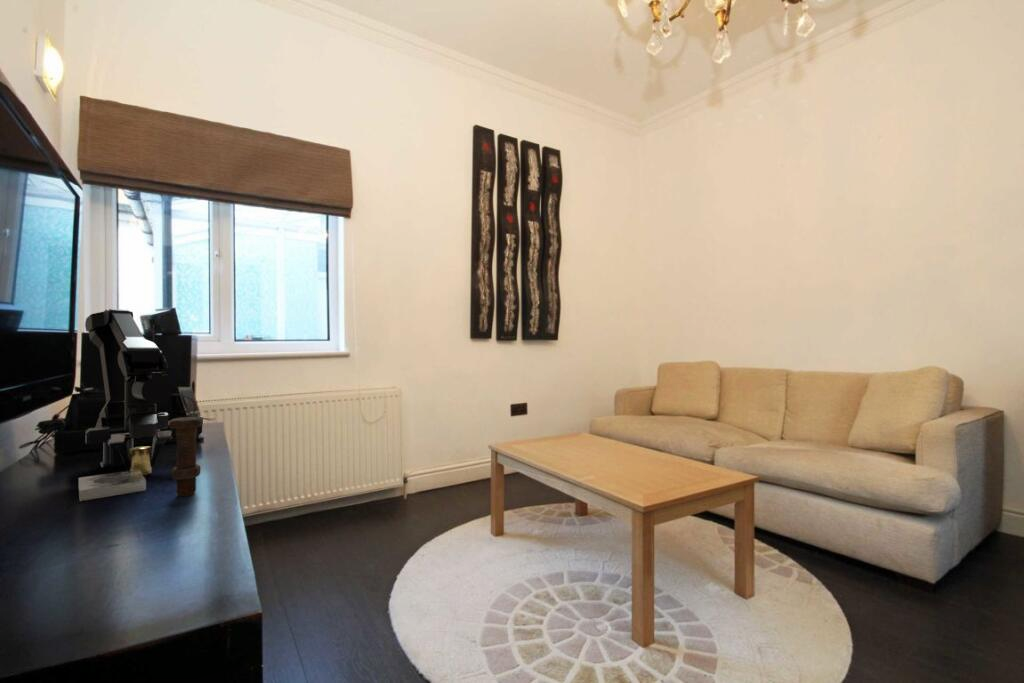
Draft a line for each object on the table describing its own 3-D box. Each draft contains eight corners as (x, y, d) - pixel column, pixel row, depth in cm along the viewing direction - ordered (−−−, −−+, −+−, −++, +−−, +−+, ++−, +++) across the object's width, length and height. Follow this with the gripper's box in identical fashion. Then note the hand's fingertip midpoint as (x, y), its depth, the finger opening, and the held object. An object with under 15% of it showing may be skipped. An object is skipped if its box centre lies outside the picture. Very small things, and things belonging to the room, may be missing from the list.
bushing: (128, 474, 109) (128, 448, 109) (150, 471, 112) (150, 445, 112) (130, 477, 106) (130, 450, 106) (152, 474, 109) (152, 448, 109)
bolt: (209, 491, 96) (209, 416, 96) (190, 499, 91) (190, 420, 91) (182, 490, 97) (183, 416, 97) (162, 498, 92) (162, 420, 92)
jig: (78, 487, 99) (78, 477, 99) (139, 478, 106) (139, 469, 106) (79, 501, 90) (79, 490, 90) (145, 490, 97) (146, 480, 97)
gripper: (87, 407, 97) (86, 484, 97) (195, 400, 110) (195, 468, 109) (85, 402, 105) (85, 473, 105) (187, 396, 118) (186, 459, 118)
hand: (140, 468), depth 109 cm, fingers closed on bushing, 4 cm apart
